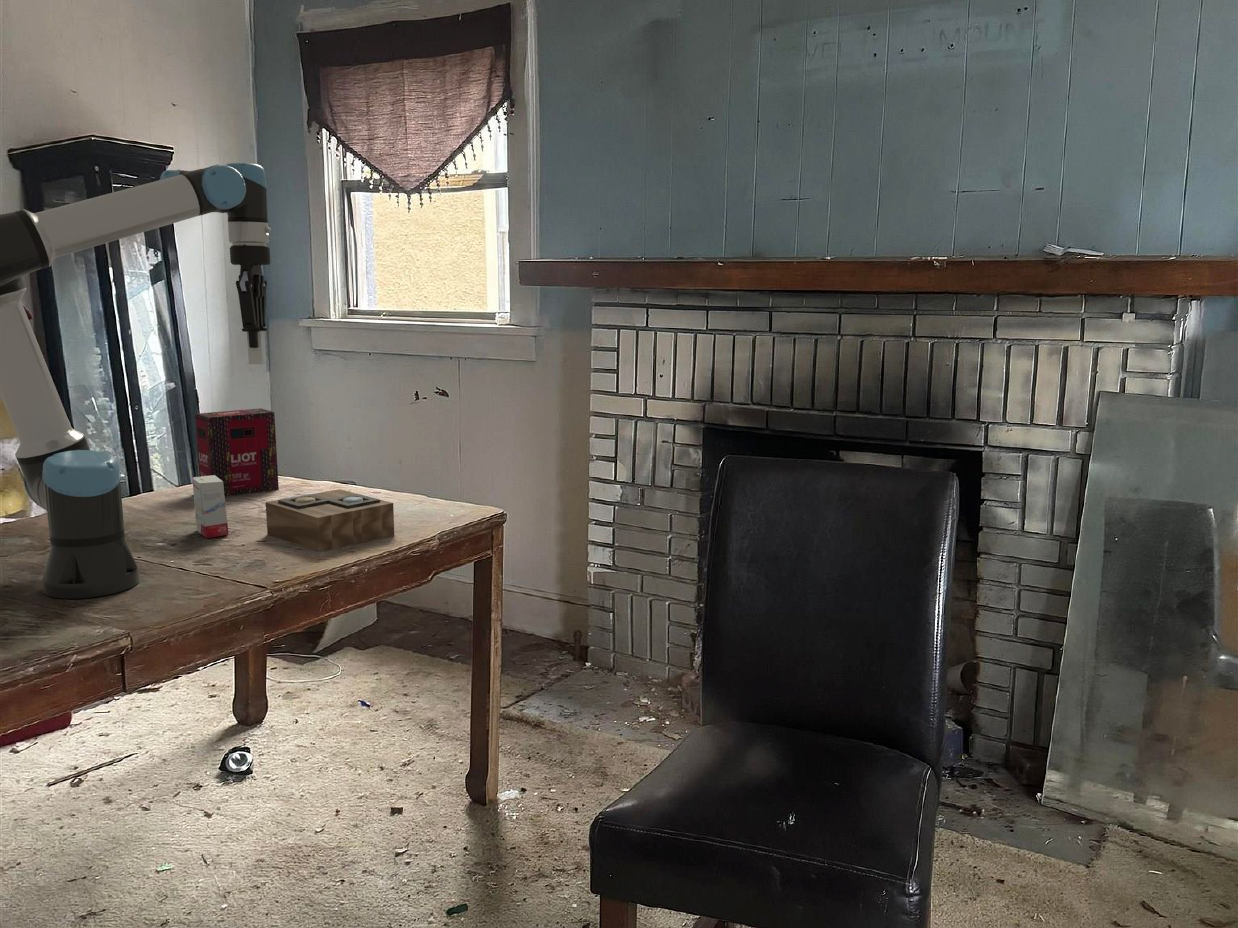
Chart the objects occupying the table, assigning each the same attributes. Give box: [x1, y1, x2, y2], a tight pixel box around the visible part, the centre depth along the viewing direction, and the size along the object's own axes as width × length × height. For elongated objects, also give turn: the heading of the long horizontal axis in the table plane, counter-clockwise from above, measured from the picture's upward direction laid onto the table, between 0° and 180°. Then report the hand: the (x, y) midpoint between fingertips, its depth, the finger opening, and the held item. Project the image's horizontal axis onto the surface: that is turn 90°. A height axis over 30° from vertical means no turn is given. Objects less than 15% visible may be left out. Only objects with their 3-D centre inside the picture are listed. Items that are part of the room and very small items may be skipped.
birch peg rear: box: [295, 497, 315, 504], centre depth 214 cm, size 4×4×8 cm
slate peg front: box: [343, 497, 363, 503], centre depth 215 cm, size 4×4×8 cm
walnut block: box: [265, 488, 395, 553], centre depth 215 cm, size 18×20×8 cm
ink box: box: [191, 475, 230, 539], centre depth 215 cm, size 9×5×12 cm, turn 33°
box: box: [194, 407, 280, 498], centre depth 255 cm, size 16×9×20 cm, turn 130°
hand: (256, 363), depth 206 cm, fingers closed
